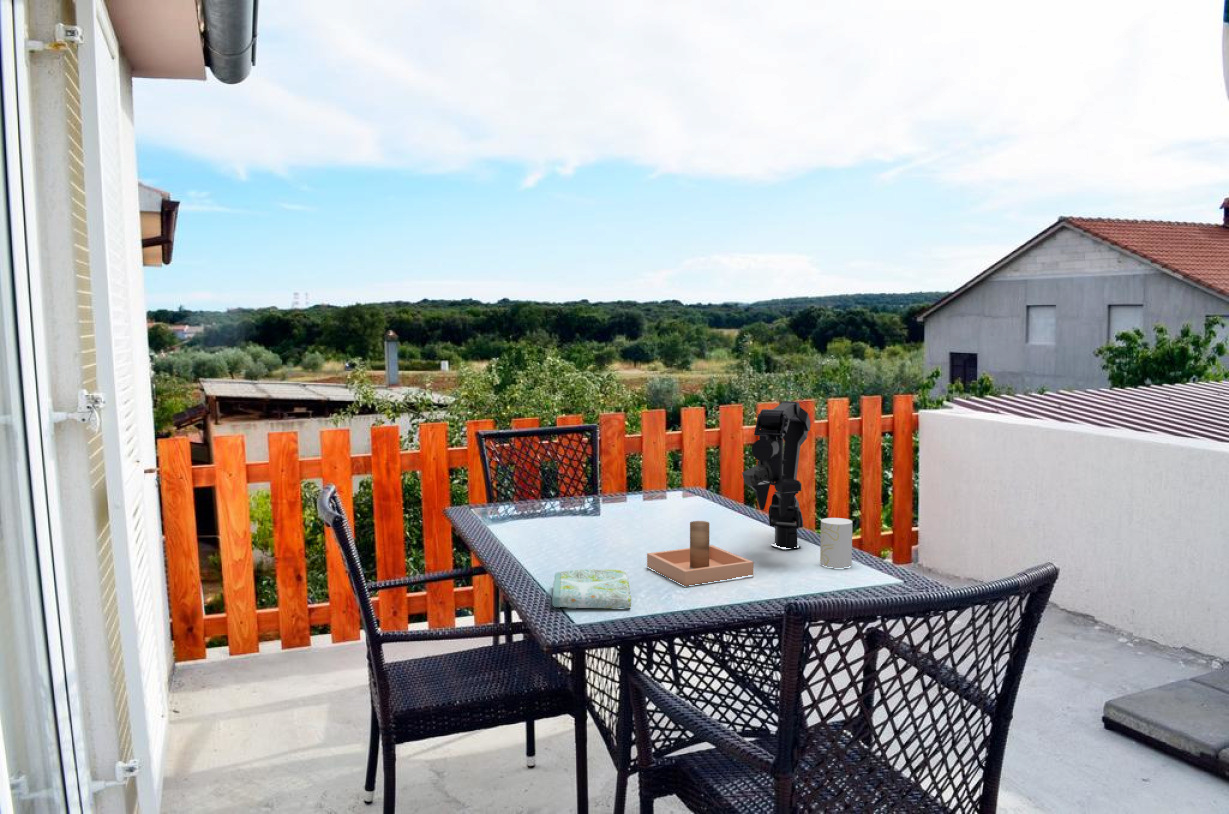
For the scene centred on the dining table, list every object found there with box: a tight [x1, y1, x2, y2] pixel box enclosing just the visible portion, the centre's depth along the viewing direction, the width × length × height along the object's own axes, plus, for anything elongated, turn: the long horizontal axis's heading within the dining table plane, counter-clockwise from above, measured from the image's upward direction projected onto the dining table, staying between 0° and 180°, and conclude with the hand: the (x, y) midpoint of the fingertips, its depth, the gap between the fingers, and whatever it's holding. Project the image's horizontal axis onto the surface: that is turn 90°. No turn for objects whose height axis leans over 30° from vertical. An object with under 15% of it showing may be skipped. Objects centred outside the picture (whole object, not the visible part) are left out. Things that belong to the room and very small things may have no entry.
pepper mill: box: [689, 520, 710, 569], centre depth 242 cm, size 5×5×12 cm
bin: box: [646, 544, 755, 586], centre depth 242 cm, size 20×20×4 cm
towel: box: [551, 568, 632, 609], centre depth 222 cm, size 18×21×5 cm
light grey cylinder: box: [819, 517, 853, 568], centre depth 248 cm, size 8×8×12 cm
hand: (771, 513), depth 253 cm, fingers open, 9 cm apart
